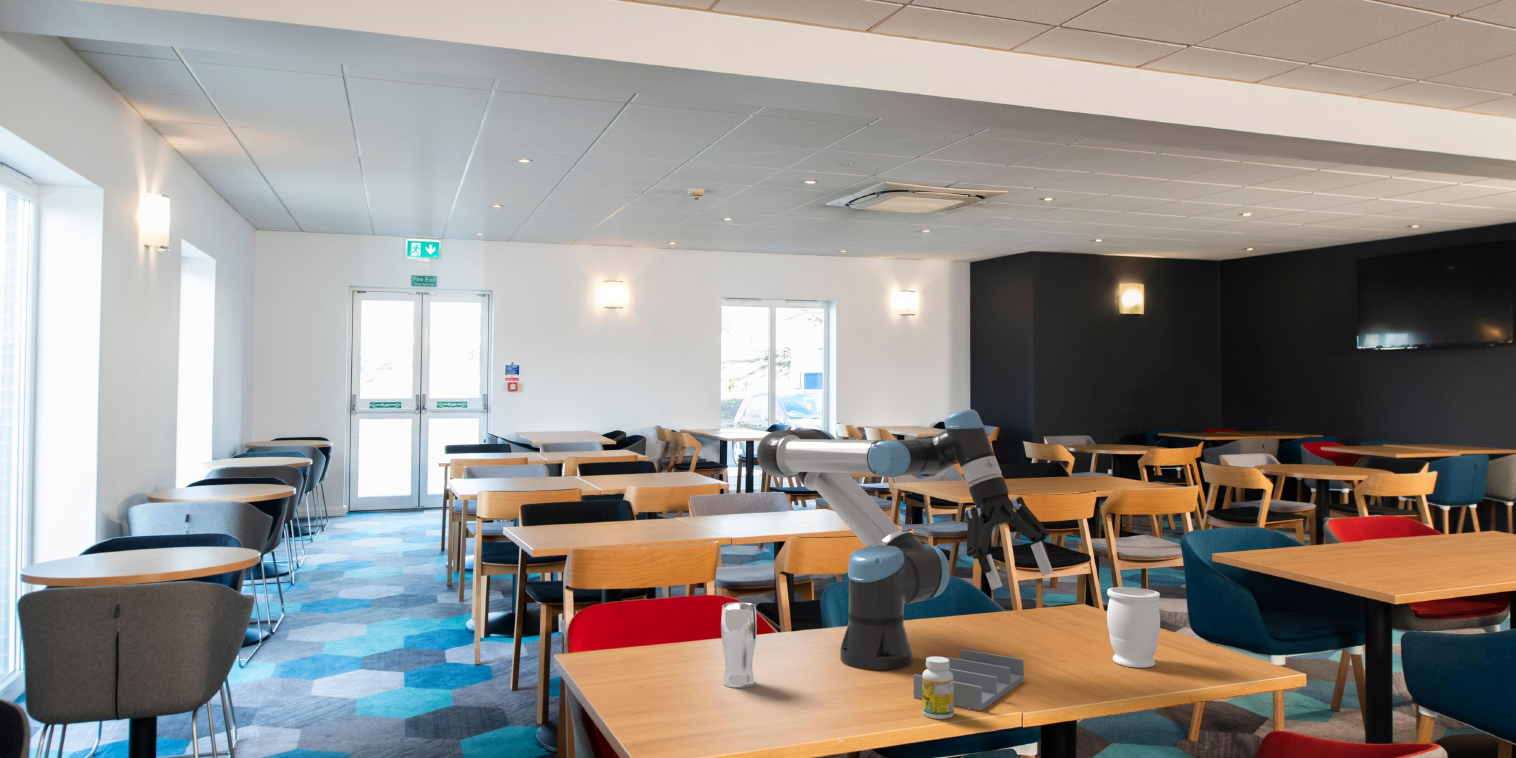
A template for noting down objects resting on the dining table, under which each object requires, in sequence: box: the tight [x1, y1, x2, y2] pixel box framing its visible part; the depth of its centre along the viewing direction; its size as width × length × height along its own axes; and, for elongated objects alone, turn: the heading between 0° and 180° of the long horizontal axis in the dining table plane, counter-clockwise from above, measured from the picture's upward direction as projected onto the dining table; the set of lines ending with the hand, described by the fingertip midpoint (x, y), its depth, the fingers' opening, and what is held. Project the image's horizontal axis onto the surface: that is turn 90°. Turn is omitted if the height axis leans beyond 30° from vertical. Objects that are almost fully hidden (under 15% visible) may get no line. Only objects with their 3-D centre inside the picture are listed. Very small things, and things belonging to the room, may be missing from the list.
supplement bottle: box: [921, 656, 955, 720], centre depth 160 cm, size 5×5×10 cm
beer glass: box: [720, 601, 758, 689], centre depth 178 cm, size 7×7×15 cm
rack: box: [913, 648, 1025, 712], centre depth 174 cm, size 13×22×4 cm, turn 145°
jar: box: [1106, 586, 1161, 669], centre depth 192 cm, size 11×10×15 cm
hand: (1022, 581), depth 184 cm, fingers open, 13 cm apart
